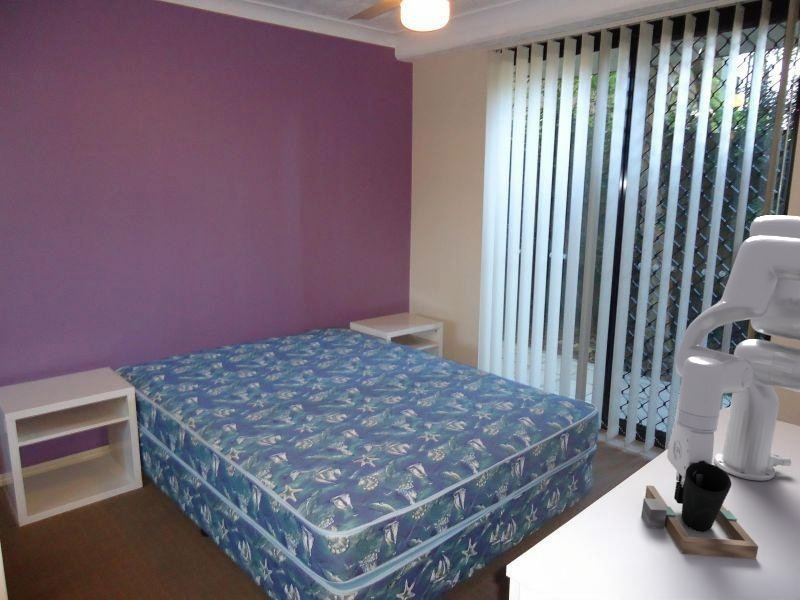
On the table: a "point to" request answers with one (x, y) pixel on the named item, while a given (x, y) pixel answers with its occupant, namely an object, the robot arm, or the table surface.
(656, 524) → the beam slot
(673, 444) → the robot arm
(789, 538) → the table surface
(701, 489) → the cup
